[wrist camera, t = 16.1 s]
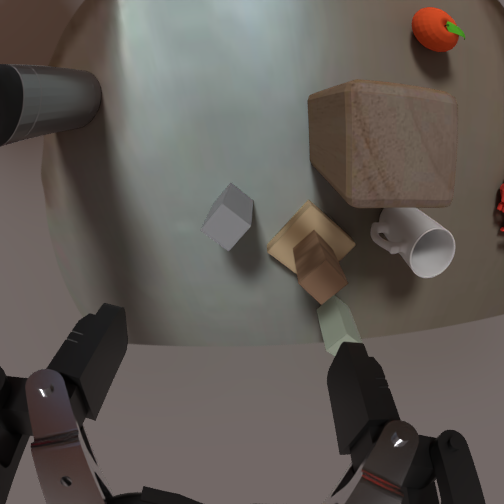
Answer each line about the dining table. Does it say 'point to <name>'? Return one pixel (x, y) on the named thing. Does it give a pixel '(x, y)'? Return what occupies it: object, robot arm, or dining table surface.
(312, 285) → the walnut post
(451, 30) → the clementine
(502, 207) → the animal figurine
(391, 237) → the mug
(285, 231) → the oak slab
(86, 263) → the dining table surface
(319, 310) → the sage post
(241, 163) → the dining table surface
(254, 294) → the dining table surface
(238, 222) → the grey post
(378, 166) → the wooden block
